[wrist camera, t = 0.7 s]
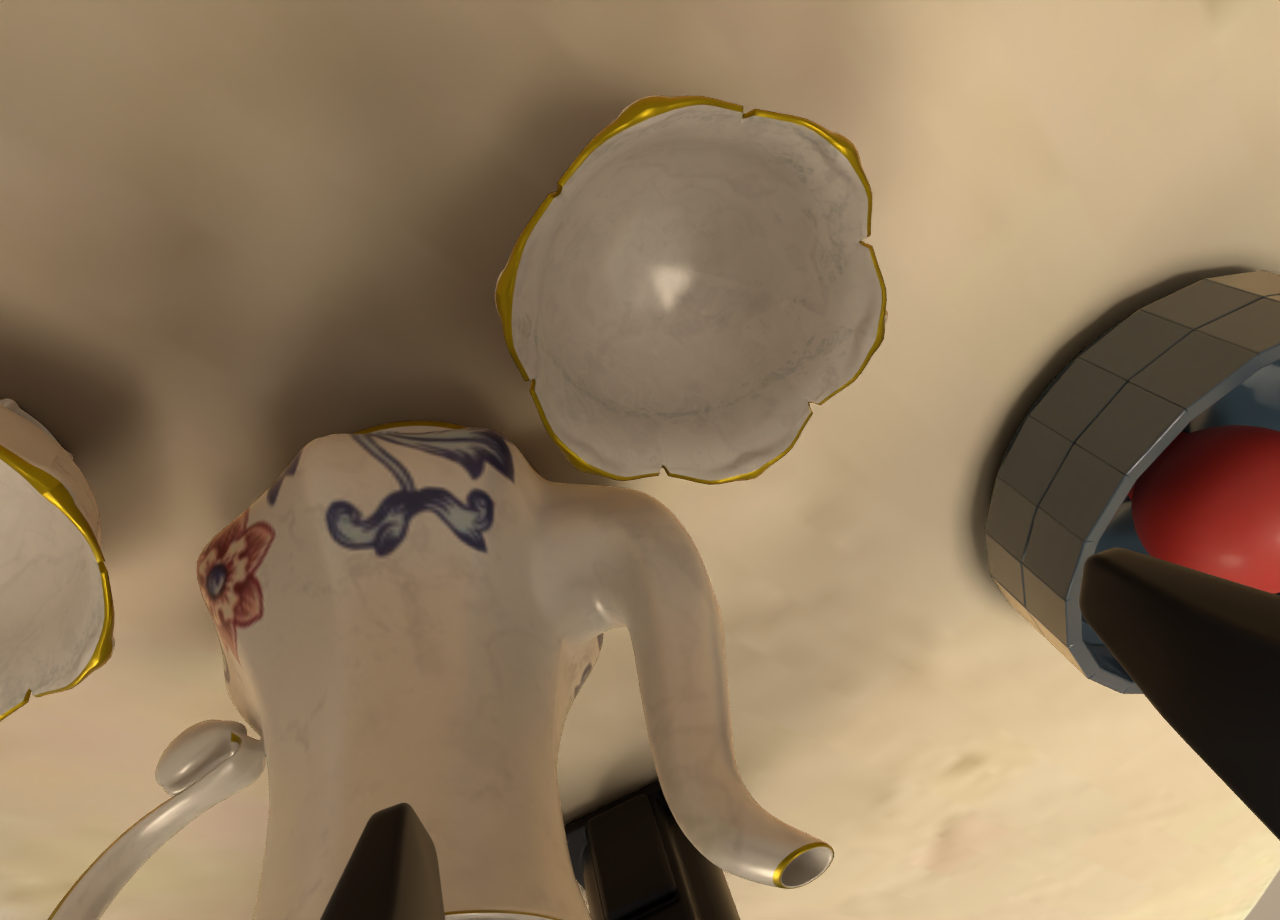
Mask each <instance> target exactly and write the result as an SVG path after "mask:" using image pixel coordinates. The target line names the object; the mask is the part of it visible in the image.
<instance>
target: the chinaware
mask: <svg viewBox="0 0 1280 920" xmlns="http://www.w3.org/2000/svg"><path fill="white" fill-rule="evenodd" d="M557 184H558V189H557V191H556V192H554V193H550V194H548V196H547V197H546V199H545V200H544V201H543V203H542V204H541V206H540V207H539V208H538V210H537V211H536V213H535V214H534V215H533V217H532V218H531V220H530V221H529V223H528V224H527V225H526V227H525V228H524V230H523V232H522V233H521V235H520V236H519V238H518V240H517V242H516V244H515V246H514V248H513V250H512V253H511V255H510V257H509V260H508V262H507V265H506V266H505V268H504V269H503V270H502V271H501V273H500V275H499V278H498V280H497V284H496V288H495V304H496V309H497V312H498V314H499V316H500V319H501V323H502V329H503V335H504V338H505V342H506V346H507V348H508V350H509V353H510V355H511V357H512V359H513V360H514V362H515V364H516V366H517V368H518V369H519V371H520V373H521V375H522V377H523V379H524V381H529V380H532V384H531V388H530V393H531V396H532V398H533V401H534V403H535V405H536V408H537V410H538V413H539V415H540V418H541V420H542V422H543V425H544V427H545V429H546V431H547V433H548V434H549V436H550V437H551V439H552V440H553V442H554V443H555V444H556V445H557V446H558V447H559V448H560V449H561V451H562V452H563V453H564V455H565V457H566V459H567V460H568V461H569V463H570V464H571V465H572V466H573V467H575V468H576V469H577V470H579V471H581V472H584V473H588V474H595V475H600V476H603V477H607V478H610V479H613V480H619V481H627V480H635V479H640V478H645V477H652V476H658V475H659V473H660V470H661V468H662V467H663V468H664V469H665V471H666V473H667V475H668V476H670V477H675V478H680V479H685V480H689V481H693V482H697V483H703V484H709V485H710V484H722V483H728V482H733V481H741V480H750V479H754V478H756V477H758V476H759V475H761V474H762V473H763V472H764V471H765V470H766V469H767V468H768V467H769V466H771V465H772V464H774V463H775V462H777V461H778V460H779V459H781V458H782V457H783V456H785V455H786V454H787V453H788V452H789V451H790V450H791V449H792V448H793V446H794V444H795V443H796V441H797V440H798V438H799V436H800V434H801V432H802V431H803V429H804V427H805V425H806V424H807V422H808V420H809V419H810V417H811V416H812V414H813V412H812V410H811V408H810V405H809V403H815V404H818V405H821V404H823V403H824V402H825V401H827V400H828V399H830V398H831V397H832V396H834V395H835V394H837V393H838V392H840V391H841V390H843V389H844V388H846V387H847V386H848V385H850V384H851V383H853V382H854V381H855V380H856V379H857V378H858V376H859V375H860V374H861V373H862V371H863V370H864V368H865V366H866V365H867V363H868V362H869V360H870V358H871V357H872V355H873V354H874V352H875V351H876V350H877V349H878V348H879V346H880V345H881V343H882V341H883V340H884V333H885V324H886V321H887V319H888V313H887V311H886V301H887V298H886V287H885V284H884V280H883V277H882V274H881V271H880V268H879V265H878V262H877V259H876V256H875V253H874V249H873V246H871V245H869V244H866V243H864V242H862V241H861V240H862V239H864V238H867V237H869V236H870V235H871V213H872V192H871V188H870V184H869V182H868V180H867V178H866V175H865V173H864V171H863V168H862V165H861V161H860V157H859V154H858V151H857V149H856V148H855V146H854V144H853V143H852V142H851V141H850V140H848V139H847V138H846V137H844V136H843V135H841V134H839V133H836V132H831V131H829V130H827V129H825V128H824V127H822V126H820V125H818V124H817V123H814V122H812V121H810V120H808V119H805V118H801V117H797V116H793V115H787V114H782V113H776V112H770V111H765V110H759V109H754V110H752V111H750V112H748V113H745V114H743V106H741V105H737V104H733V103H729V102H725V101H722V100H718V99H714V98H709V97H704V96H677V97H666V96H663V95H653V96H647V97H643V98H640V99H638V100H637V101H635V102H633V103H631V104H630V105H628V106H627V107H625V108H624V109H623V110H622V111H621V113H620V115H619V116H618V117H617V118H616V119H615V120H614V121H613V122H612V123H610V124H609V125H608V126H607V127H605V128H604V129H603V130H602V131H601V132H600V133H598V134H597V135H596V136H595V137H594V138H593V139H592V140H591V141H590V142H589V143H588V145H587V146H586V147H585V148H584V149H583V150H582V152H581V153H580V154H579V155H578V157H577V158H576V159H575V161H574V162H573V163H572V164H571V166H570V167H569V168H568V169H567V171H566V172H565V173H564V175H563V176H562V177H561V178H560V180H559V181H558V183H557ZM104 561H105V560H104V557H103V554H102V551H101V525H100V516H99V512H98V508H97V504H96V501H95V499H94V496H93V494H92V492H91V490H90V488H89V486H88V484H87V482H86V480H85V478H84V476H83V474H82V473H81V471H80V470H79V468H78V467H77V466H76V464H75V463H74V462H73V455H72V454H71V453H69V452H67V451H66V450H64V449H63V448H62V447H61V445H60V444H59V443H58V442H57V440H56V439H55V438H54V437H53V435H52V434H51V433H50V432H49V431H48V430H47V429H46V428H45V427H44V426H43V425H42V424H41V423H39V422H38V421H37V420H36V419H34V418H33V417H32V416H30V415H29V414H27V413H26V412H24V411H23V410H22V409H20V408H19V406H18V405H17V403H16V402H15V401H14V400H12V399H3V400H0V721H2V720H3V719H5V718H6V717H7V716H9V715H10V714H12V713H13V712H15V711H16V710H17V709H19V708H20V707H22V706H23V705H25V704H26V703H28V701H29V698H30V694H31V691H32V694H33V696H35V697H41V696H44V695H48V694H52V693H57V692H62V691H65V690H69V689H72V688H73V687H75V686H76V685H78V684H79V683H80V682H82V681H83V680H84V679H85V678H86V677H87V676H88V675H90V674H91V673H92V672H93V671H95V670H97V669H98V668H100V667H101V666H103V665H104V664H105V663H106V662H107V661H108V660H109V659H110V658H111V656H112V653H113V650H114V646H115V639H114V636H113V631H114V606H113V599H112V593H111V587H110V582H109V576H108V571H107V569H106V567H105V565H104V563H103V562H104ZM197 579H198V583H199V587H200V590H201V593H202V596H203V599H204V601H205V603H206V606H207V608H208V610H209V612H210V614H211V616H212V619H213V621H214V624H215V627H216V630H217V633H218V637H219V641H220V645H221V649H222V655H223V661H224V675H225V683H226V687H227V690H228V694H229V697H230V699H231V700H232V702H233V704H234V706H235V707H236V709H237V710H238V712H239V713H240V714H241V716H242V717H243V718H244V719H245V721H246V722H247V723H248V724H249V725H250V726H251V727H252V728H253V729H254V730H255V731H256V732H257V733H258V734H259V735H260V737H261V739H260V740H256V739H254V738H251V737H249V736H247V730H246V727H245V726H244V725H242V724H241V723H238V722H235V721H222V720H207V721H203V722H200V723H197V724H195V725H193V726H191V727H189V728H188V729H186V730H185V731H183V732H182V733H181V734H179V735H178V736H177V737H176V738H175V739H174V740H173V741H172V742H171V743H170V744H169V746H168V747H167V748H166V749H165V751H164V752H163V754H162V756H161V758H160V760H159V762H158V764H157V767H156V772H155V777H156V781H157V783H158V784H159V785H160V786H162V787H163V788H164V790H165V792H167V793H168V794H171V795H175V796H173V797H172V798H170V799H169V800H167V801H166V802H164V803H163V804H161V805H160V806H158V807H157V808H155V809H154V810H152V811H151V812H150V813H148V814H147V815H145V816H144V817H143V818H141V819H140V820H139V821H138V822H136V823H135V824H134V825H133V826H131V827H130V828H129V829H128V830H127V831H125V832H124V833H123V834H122V835H121V836H120V837H119V838H117V839H116V840H115V841H114V842H113V843H112V844H111V845H110V846H109V847H108V848H107V849H106V850H105V851H104V852H103V853H102V854H101V855H100V856H99V857H98V858H97V859H96V860H95V861H94V862H93V863H92V864H91V865H90V867H89V868H88V869H87V870H86V871H85V872H84V873H83V874H82V875H81V877H80V878H79V879H78V880H77V881H76V882H75V884H74V885H73V886H72V887H71V889H70V890H69V891H68V892H67V894H66V895H65V896H64V897H63V899H62V900H61V901H60V903H59V904H58V905H57V907H56V908H55V910H54V911H53V912H52V914H51V915H50V917H49V918H48V920H99V919H100V918H101V916H102V915H103V913H104V912H105V910H106V909H107V908H108V906H109V905H110V903H111V902H112V901H113V899H114V898H115V897H116V895H117V894H118V893H119V892H120V890H121V889H122V888H123V887H124V886H125V884H126V883H127V882H128V881H129V880H130V878H131V877H132V876H133V875H134V874H135V873H136V872H137V871H138V870H139V869H140V867H141V866H142V865H143V864H144V863H145V862H146V861H147V860H148V859H149V858H150V857H151V856H152V855H153V854H154V853H155V852H156V851H157V850H158V849H159V848H160V847H161V846H162V845H164V844H165V843H166V842H167V841H168V840H169V839H170V838H171V837H173V836H174V835H175V834H176V833H177V832H179V831H180V830H181V829H182V828H184V827H185V826H186V825H187V824H189V823H190V822H191V821H193V820H194V819H195V818H197V817H198V816H199V815H201V814H202V813H203V812H205V811H206V810H208V809H209V808H211V807H213V806H214V805H216V804H218V803H219V802H221V801H223V800H225V799H227V798H229V797H230V796H232V795H234V794H236V793H238V792H240V791H241V790H243V789H245V788H246V787H248V786H249V785H251V784H252V783H254V782H255V781H256V780H257V779H258V778H259V777H260V775H261V774H262V772H263V771H264V768H265V757H267V766H268V777H269V818H268V829H267V838H266V846H265V853H264V860H263V867H262V873H261V879H260V885H259V890H258V896H257V901H256V906H255V911H254V916H253V920H320V918H321V916H322V914H323V912H324V910H325V908H326V906H327V904H328V902H329V900H330V898H331V896H332V894H333V892H334V890H335V887H336V885H337V883H338V881H339V879H340V877H341V875H342V873H343V871H344V869H345V867H346V865H347V863H348V861H349V859H350V857H351V855H352V853H353V851H354V848H355V846H356V844H357V842H358V840H359V838H360V836H361V834H362V832H363V830H364V828H365V826H366V824H367V822H368V820H369V819H370V817H371V816H372V815H373V814H374V813H376V812H378V811H380V810H383V809H385V808H388V807H391V806H394V805H396V804H399V803H404V802H405V803H408V804H409V805H410V806H411V807H412V808H413V809H414V811H415V813H416V814H417V816H418V817H419V819H420V821H421V822H422V824H423V826H424V827H425V829H426V831H427V832H428V834H429V835H430V837H431V839H432V841H433V843H434V846H435V849H436V853H437V858H438V865H439V873H440V881H441V889H442V897H443V905H444V913H445V920H592V918H591V916H590V913H589V911H588V909H587V906H586V904H585V901H584V899H583V897H582V894H581V891H580V889H579V886H578V884H577V881H576V878H575V875H574V871H573V867H572V863H571V859H570V855H569V850H568V845H567V839H566V834H565V828H564V823H563V816H562V810H561V803H560V796H559V788H558V778H557V760H558V752H559V745H560V740H561V735H562V730H563V726H564V722H565V719H566V716H567V713H568V711H569V709H570V707H571V705H572V703H573V701H574V699H575V697H576V695H577V694H578V692H579V690H580V689H581V687H582V685H583V684H584V682H585V681H586V679H587V677H588V676H589V674H590V672H591V670H592V669H593V667H594V665H595V663H596V661H597V658H598V656H599V653H600V650H601V647H602V643H603V633H604V632H606V631H608V630H611V629H613V628H617V627H627V628H628V630H629V633H630V636H631V640H632V645H633V650H634V655H635V661H636V667H637V673H638V680H639V686H640V692H641V698H642V704H643V709H644V715H645V720H646V726H647V731H648V736H649V741H650V746H651V750H652V755H653V759H654V763H655V768H656V771H657V775H658V778H659V782H660V785H661V788H662V791H663V794H664V796H665V799H666V801H667V804H668V806H669V808H670V810H671V812H672V814H673V816H674V818H675V820H676V822H677V823H678V825H679V827H680V828H681V830H682V831H683V833H684V834H685V836H686V837H687V838H688V839H689V841H690V842H691V843H692V844H693V845H694V847H695V848H696V849H697V850H698V851H699V852H700V853H701V854H702V855H704V856H705V857H706V858H707V859H708V860H709V861H711V862H712V863H713V864H715V865H716V866H718V867H719V868H721V869H723V870H725V871H727V872H729V873H731V874H733V875H736V876H738V877H741V878H744V879H747V880H750V881H754V882H757V883H761V884H765V885H769V886H774V887H779V888H786V889H792V888H798V887H801V886H804V885H806V884H808V883H810V882H812V881H813V880H815V879H816V878H818V877H819V876H820V875H821V874H822V873H824V872H825V870H826V869H827V868H828V867H829V866H830V864H831V862H832V860H833V858H834V851H833V849H832V847H831V846H829V845H828V844H827V843H825V842H823V841H821V840H819V839H817V838H815V837H813V836H811V835H809V834H807V833H804V832H802V831H800V830H798V829H796V828H794V827H792V826H790V825H788V824H786V823H784V822H782V821H780V820H778V819H777V818H775V817H774V816H772V815H771V814H769V813H768V812H767V811H765V810H764V809H763V808H762V807H761V806H760V805H759V804H758V803H757V802H756V801H755V800H754V798H753V797H752V796H751V795H750V793H749V792H748V790H747V789H746V787H745V785H744V783H743V781H742V779H741V777H740V774H739V771H738V768H737V765H736V760H735V753H734V745H733V736H732V725H731V714H730V703H729V691H728V679H727V668H726V655H725V640H724V630H723V622H722V617H721V613H720V608H719V605H718V602H717V599H716V596H715V594H714V591H713V588H712V585H711V583H710V580H709V577H708V575H707V572H706V569H705V566H704V563H703V561H702V558H701V556H700V554H699V552H698V549H697V548H696V546H695V544H694V542H693V541H692V539H691V537H690V536H689V534H688V533H687V531H686V530H685V528H684V527H683V525H682V524H681V523H680V521H679V520H678V519H677V518H676V516H675V515H674V514H673V513H672V512H671V511H670V510H669V509H668V508H667V507H665V506H664V505H663V504H661V503H660V502H659V501H658V500H656V499H655V498H653V497H651V496H649V495H647V494H645V493H642V492H639V491H636V490H631V489H626V488H619V487H610V486H598V485H584V484H569V483H556V482H550V481H548V480H545V479H544V478H543V477H541V476H540V475H539V474H538V472H537V471H536V470H535V469H534V468H533V466H532V465H531V464H530V463H529V462H528V461H527V460H526V459H525V458H524V456H523V455H522V454H521V452H520V451H519V450H518V448H517V447H516V446H515V445H514V444H513V443H512V442H511V440H509V439H508V438H507V437H506V436H504V435H503V434H502V433H500V432H497V431H495V430H493V429H489V428H483V427H473V428H468V427H465V426H461V425H457V424H452V423H446V422H438V421H401V422H393V423H387V424H381V425H377V426H373V427H370V428H366V429H363V430H360V431H357V432H355V433H352V434H330V435H326V436H322V437H319V438H316V439H314V440H312V441H311V442H309V443H307V444H306V445H305V446H304V447H303V448H302V449H301V450H300V451H299V452H298V453H297V455H296V456H295V457H294V458H293V460H292V461H291V462H290V464H289V465H288V466H287V467H286V469H285V470H284V471H283V472H282V473H281V475H280V476H279V477H278V478H277V479H276V480H275V481H274V482H273V483H272V484H271V486H270V487H269V488H268V489H267V490H266V491H265V492H264V493H263V494H262V495H261V496H260V497H259V498H258V499H257V500H256V501H255V502H254V503H253V504H252V505H251V506H250V507H249V508H247V509H246V510H245V511H244V512H243V513H242V514H241V515H240V516H239V517H238V518H236V519H235V520H234V521H233V522H232V523H230V524H229V525H228V526H226V527H225V528H224V529H223V530H221V531H220V532H219V533H218V534H217V535H215V536H214V537H213V538H212V539H211V541H210V542H209V543H208V544H207V545H206V546H205V547H204V549H203V550H202V552H201V554H200V556H199V558H198V561H197Z"/></svg>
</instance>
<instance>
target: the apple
mask: <svg viewBox="0 0 1280 920" xmlns="http://www.w3.org/2000/svg"><path fill="white" fill-rule="evenodd" d="M1128 496H1129V498H1130V499H1131V500H1132V503H1131V507H1132V519H1133V523H1134V527H1135V531H1136V533H1137V535H1138V537H1139V539H1140V541H1141V543H1142V545H1143V546H1144V548H1145V549H1146V551H1147V552H1148V553H1149V555H1150V556H1151V557H1155V558H1158V559H1161V560H1164V561H1168V562H1171V563H1174V564H1178V565H1181V566H1184V567H1187V568H1191V569H1194V570H1197V571H1200V572H1204V573H1207V574H1210V575H1214V576H1217V577H1220V578H1223V579H1227V580H1230V581H1233V582H1236V583H1240V584H1243V585H1246V586H1250V587H1253V588H1256V589H1259V590H1263V591H1266V592H1269V593H1272V594H1275V593H1279V592H1280V432H1279V431H1276V430H1273V429H1268V428H1264V427H1257V426H1249V425H1223V426H1216V427H1210V428H1205V429H1202V430H1198V431H1195V432H1192V433H1185V432H1181V433H1180V434H1179V435H1178V436H1177V437H1176V438H1175V439H1174V440H1173V441H1172V442H1171V443H1170V445H1169V446H1168V447H1167V448H1166V449H1165V450H1164V451H1163V452H1162V453H1161V454H1160V455H1159V456H1158V458H1157V459H1156V460H1155V461H1154V462H1153V463H1152V464H1151V465H1150V466H1149V467H1148V468H1147V469H1146V470H1145V472H1144V473H1143V474H1142V475H1141V476H1140V477H1139V478H1138V479H1137V481H1136V482H1135V484H1134V485H1133V487H1132V489H1131V490H1130V492H1129V493H1128Z"/></svg>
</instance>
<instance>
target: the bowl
mask: <svg viewBox="0 0 1280 920" xmlns="http://www.w3.org/2000/svg"><path fill="white" fill-rule="evenodd" d="M1223 425H1249V426H1257V427H1264V428H1268V429H1273V430H1276V431H1279V432H1280V275H1278V274H1274V273H1271V272H1267V271H1254V272H1247V273H1240V274H1233V275H1226V276H1219V277H1212V278H1205V279H1202V280H1199V281H1197V282H1195V283H1193V284H1191V285H1189V286H1186V287H1184V288H1182V289H1180V290H1178V291H1176V292H1174V293H1172V294H1170V295H1167V296H1165V297H1163V298H1161V299H1159V300H1157V301H1155V302H1153V303H1150V304H1148V305H1146V306H1144V307H1142V308H1140V309H1139V310H1137V311H1136V312H1134V313H1133V314H1132V315H1131V316H1129V317H1127V318H1125V319H1124V320H1122V321H1121V322H1119V323H1118V324H1116V325H1115V326H1113V327H1112V328H1110V329H1109V330H1107V331H1106V332H1104V333H1103V334H1102V335H1101V336H1099V337H1098V338H1097V339H1096V340H1094V341H1093V342H1092V343H1091V344H1089V345H1088V346H1087V347H1086V348H1084V349H1083V350H1082V351H1081V352H1080V353H1079V354H1078V355H1077V356H1076V357H1075V358H1074V359H1073V360H1072V361H1070V362H1069V363H1068V364H1067V365H1066V366H1065V367H1064V368H1063V369H1062V370H1061V371H1060V372H1059V374H1058V375H1057V376H1056V377H1055V378H1054V379H1053V380H1052V382H1051V383H1050V384H1049V385H1048V386H1047V387H1046V388H1045V389H1044V391H1043V392H1042V393H1041V395H1040V396H1039V397H1038V399H1037V400H1036V401H1035V403H1034V404H1033V405H1032V407H1031V408H1030V409H1029V411H1028V412H1027V414H1026V416H1025V417H1024V419H1023V420H1022V422H1021V424H1020V425H1019V427H1018V429H1017V430H1016V432H1015V433H1014V435H1013V438H1012V440H1011V442H1010V444H1009V446H1008V448H1007V450H1006V452H1005V454H1004V456H1003V459H1002V461H1001V464H1000V467H999V470H998V472H997V475H996V478H995V482H994V487H993V491H992V495H991V501H990V507H989V512H988V516H987V520H986V525H985V538H986V546H987V554H988V562H989V569H990V574H991V577H992V578H993V580H994V581H995V583H996V584H997V586H998V587H999V588H1000V590H1001V591H1002V593H1003V594H1004V596H1005V597H1006V599H1007V600H1008V602H1009V603H1010V604H1011V606H1012V607H1014V608H1015V609H1016V610H1017V611H1018V612H1019V613H1020V614H1021V615H1022V616H1023V617H1024V618H1025V619H1026V620H1027V621H1028V622H1029V623H1030V624H1031V625H1032V626H1033V627H1034V628H1035V629H1037V630H1038V631H1039V632H1040V633H1041V634H1042V635H1043V636H1044V637H1045V638H1046V639H1047V640H1048V641H1049V642H1050V643H1051V644H1052V645H1053V646H1054V647H1055V648H1056V649H1057V650H1058V651H1059V652H1061V653H1062V654H1063V655H1064V656H1065V657H1066V658H1067V659H1068V660H1069V661H1070V662H1071V663H1072V664H1073V665H1074V666H1075V667H1076V668H1077V669H1078V670H1079V671H1080V672H1081V673H1082V674H1084V675H1085V676H1086V677H1087V678H1088V679H1090V680H1093V681H1095V682H1097V683H1099V684H1102V685H1104V686H1106V687H1108V688H1110V689H1113V690H1115V691H1117V692H1119V693H1123V694H1144V693H1143V692H1142V691H1141V690H1140V688H1139V687H1138V686H1137V685H1136V683H1135V682H1134V681H1133V680H1132V678H1131V677H1130V676H1129V674H1128V673H1127V672H1126V671H1125V669H1124V668H1123V667H1122V666H1121V664H1120V663H1119V662H1118V661H1117V659H1116V658H1115V657H1114V655H1113V654H1112V653H1111V652H1110V650H1109V649H1108V648H1107V647H1106V645H1105V644H1104V643H1103V642H1102V640H1101V639H1100V638H1099V637H1098V635H1097V634H1096V633H1095V631H1094V630H1093V629H1092V628H1091V626H1090V625H1089V624H1088V623H1087V621H1086V620H1085V618H1084V616H1083V615H1082V612H1081V610H1080V606H1079V596H1080V589H1081V582H1082V575H1083V568H1084V563H1085V561H1086V560H1087V558H1088V557H1089V556H1091V555H1094V554H1096V553H1099V552H1102V551H1105V550H1108V549H1111V548H1117V547H1119V548H1125V549H1129V550H1132V551H1135V552H1138V553H1142V554H1145V555H1148V556H1150V555H1149V553H1148V552H1147V551H1146V549H1145V548H1144V546H1143V545H1142V543H1141V541H1140V539H1139V537H1138V535H1137V533H1136V531H1135V527H1134V523H1133V519H1132V507H1131V503H1132V500H1131V499H1130V498H1129V496H1128V493H1129V492H1130V490H1131V489H1132V487H1133V485H1134V484H1135V482H1136V481H1137V479H1138V478H1139V477H1140V476H1141V475H1142V474H1143V473H1144V472H1145V470H1146V469H1147V468H1148V467H1149V466H1150V465H1151V464H1152V463H1153V462H1154V461H1155V460H1156V459H1157V458H1158V456H1159V455H1160V454H1161V453H1162V452H1163V451H1164V450H1165V449H1166V448H1167V447H1168V446H1169V445H1170V443H1171V442H1172V441H1173V440H1174V439H1175V438H1176V437H1177V436H1178V435H1179V434H1180V433H1181V432H1185V433H1192V432H1195V431H1198V430H1202V429H1205V428H1210V427H1216V426H1223ZM1275 594H1276V595H1279V596H1280V592H1279V593H1275Z"/></svg>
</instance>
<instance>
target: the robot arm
mask: <svg viewBox="0 0 1280 920" xmlns="http://www.w3.org/2000/svg"><path fill="white" fill-rule="evenodd" d="M1079 606H1080V610H1081V612H1082V615H1083V616H1084V618H1085V620H1086V621H1087V623H1088V624H1089V625H1090V626H1091V628H1092V629H1093V630H1094V631H1095V633H1096V634H1097V635H1098V637H1099V638H1100V639H1101V640H1102V642H1103V643H1104V644H1105V645H1106V647H1107V648H1108V649H1109V650H1110V652H1111V653H1112V654H1113V655H1114V657H1115V658H1116V659H1117V661H1118V662H1119V663H1120V664H1121V666H1122V667H1123V668H1124V669H1125V671H1126V672H1127V673H1128V674H1129V676H1130V677H1131V678H1132V680H1133V681H1134V682H1135V683H1136V685H1137V686H1138V687H1139V688H1140V690H1141V691H1142V692H1143V693H1144V695H1145V696H1146V697H1147V699H1148V700H1149V701H1150V702H1151V703H1152V705H1153V706H1154V707H1155V708H1156V709H1157V711H1158V712H1159V713H1160V714H1161V715H1162V717H1163V718H1164V719H1165V720H1166V721H1167V722H1168V723H1169V724H1170V725H1171V727H1172V728H1173V729H1174V730H1175V731H1176V732H1177V733H1178V734H1179V735H1180V736H1181V737H1182V738H1183V739H1184V740H1185V742H1186V743H1187V744H1188V745H1189V746H1190V747H1191V748H1192V749H1193V750H1194V751H1195V752H1196V753H1197V754H1198V755H1199V756H1200V757H1201V758H1202V759H1203V760H1204V761H1205V763H1206V764H1207V765H1208V766H1209V767H1210V768H1211V769H1212V770H1213V771H1214V772H1215V773H1216V774H1217V775H1218V776H1219V777H1220V778H1221V779H1222V780H1223V781H1224V782H1225V783H1226V785H1227V786H1228V787H1229V788H1230V789H1231V790H1232V791H1233V792H1234V793H1235V794H1236V795H1237V796H1238V797H1239V798H1240V799H1241V800H1242V801H1243V802H1244V803H1245V804H1246V806H1247V807H1248V808H1249V809H1250V810H1251V811H1252V812H1253V813H1254V814H1255V815H1256V816H1257V817H1258V818H1259V819H1260V820H1261V821H1262V822H1263V823H1264V824H1265V825H1266V827H1267V828H1268V829H1269V830H1270V831H1271V832H1272V833H1273V834H1274V835H1275V836H1276V837H1277V838H1278V839H1279V840H1280V596H1279V595H1276V594H1272V593H1269V592H1266V591H1263V590H1259V589H1256V588H1253V587H1250V586H1246V585H1243V584H1240V583H1236V582H1233V581H1230V580H1227V579H1223V578H1220V577H1217V576H1214V575H1210V574H1207V573H1204V572H1200V571H1197V570H1194V569H1191V568H1187V567H1184V566H1181V565H1178V564H1174V563H1171V562H1168V561H1164V560H1161V559H1158V558H1155V557H1151V556H1148V555H1145V554H1142V553H1138V552H1135V551H1132V550H1129V549H1125V548H1119V547H1117V548H1111V549H1108V550H1105V551H1102V552H1099V553H1096V554H1094V555H1091V556H1089V557H1088V558H1087V560H1086V561H1085V563H1084V568H1083V575H1082V582H1081V589H1080V596H1079ZM564 828H565V834H566V839H567V845H568V850H569V855H570V859H571V863H572V867H573V871H574V875H575V878H576V880H577V881H578V882H579V883H580V884H581V886H582V887H583V888H584V889H585V890H586V894H587V899H588V904H589V910H590V915H591V918H592V920H740V917H739V915H738V912H737V909H736V906H735V904H734V901H733V898H732V895H731V893H730V890H729V887H728V884H727V882H726V879H725V876H724V873H723V871H722V869H721V868H719V867H718V866H716V865H715V864H713V863H712V862H711V861H709V860H708V859H707V858H706V857H705V856H704V855H702V854H701V853H700V852H699V851H698V850H697V849H696V848H695V847H694V845H693V844H692V843H691V842H690V841H689V839H688V838H687V837H686V836H685V834H684V833H683V831H682V830H681V828H680V827H679V825H678V823H677V822H676V820H675V818H674V816H673V814H672V812H671V810H670V808H669V806H668V804H667V801H666V799H665V796H664V794H663V791H662V788H661V785H660V782H659V781H657V782H655V783H653V784H651V785H649V786H647V787H645V788H643V789H641V790H639V791H637V792H635V793H632V794H630V795H628V796H626V797H624V798H622V799H620V800H618V801H616V802H614V803H612V804H610V805H608V806H605V807H603V808H601V809H599V810H597V811H595V812H593V813H591V814H589V815H587V816H585V817H583V818H581V819H578V820H576V821H574V822H572V823H570V824H568V825H566V826H564ZM320 920H445V913H444V905H443V897H442V889H441V881H440V873H439V865H438V858H437V853H436V849H435V846H434V843H433V841H432V839H431V837H430V835H429V834H428V832H427V831H426V829H425V827H424V826H423V824H422V822H421V821H420V819H419V817H418V816H417V814H416V813H415V811H414V809H413V808H412V807H411V806H410V805H409V804H408V803H405V802H404V803H399V804H396V805H394V806H391V807H388V808H385V809H383V810H380V811H378V812H376V813H374V814H373V815H372V816H371V817H370V819H369V820H368V822H367V824H366V826H365V828H364V830H363V832H362V834H361V836H360V838H359V840H358V842H357V844H356V846H355V848H354V851H353V853H352V855H351V857H350V859H349V861H348V863H347V865H346V867H345V869H344V871H343V873H342V875H341V877H340V879H339V881H338V883H337V885H336V887H335V890H334V892H333V894H332V896H331V898H330V900H329V902H328V904H327V906H326V908H325V910H324V912H323V914H322V916H321V918H320Z"/></svg>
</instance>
